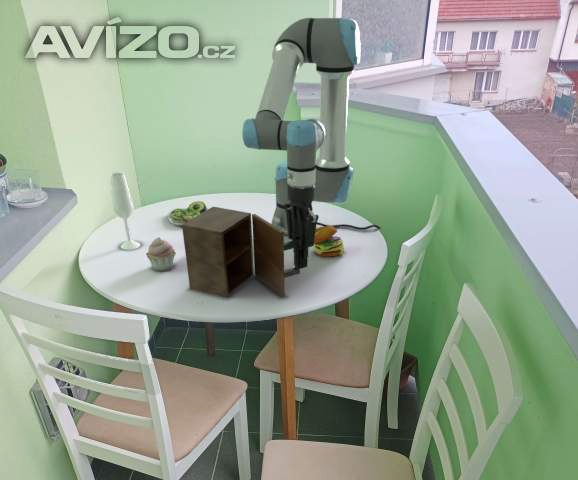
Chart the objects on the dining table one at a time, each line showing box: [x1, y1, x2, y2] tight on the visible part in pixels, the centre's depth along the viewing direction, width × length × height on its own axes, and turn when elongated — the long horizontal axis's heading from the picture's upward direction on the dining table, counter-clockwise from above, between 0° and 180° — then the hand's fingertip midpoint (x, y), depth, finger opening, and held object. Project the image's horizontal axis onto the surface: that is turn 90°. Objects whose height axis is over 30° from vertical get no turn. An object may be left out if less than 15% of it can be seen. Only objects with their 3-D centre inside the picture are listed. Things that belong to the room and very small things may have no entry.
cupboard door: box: [251, 213, 301, 298], centre depth 166 cm, size 8×16×20 cm, turn 32°
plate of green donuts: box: [167, 200, 210, 228], centre depth 212 cm, size 19×18×5 cm
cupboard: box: [181, 206, 255, 299], centre depth 167 cm, size 13×16×20 cm
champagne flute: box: [109, 172, 141, 251], centre depth 188 cm, size 7×7×24 cm
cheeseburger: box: [313, 224, 345, 258], centre depth 188 cm, size 10×11×10 cm
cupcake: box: [145, 236, 177, 272], centre depth 179 cm, size 9×9×10 cm
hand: (300, 266), depth 166 cm, fingers closed on cupboard door, 2 cm apart
